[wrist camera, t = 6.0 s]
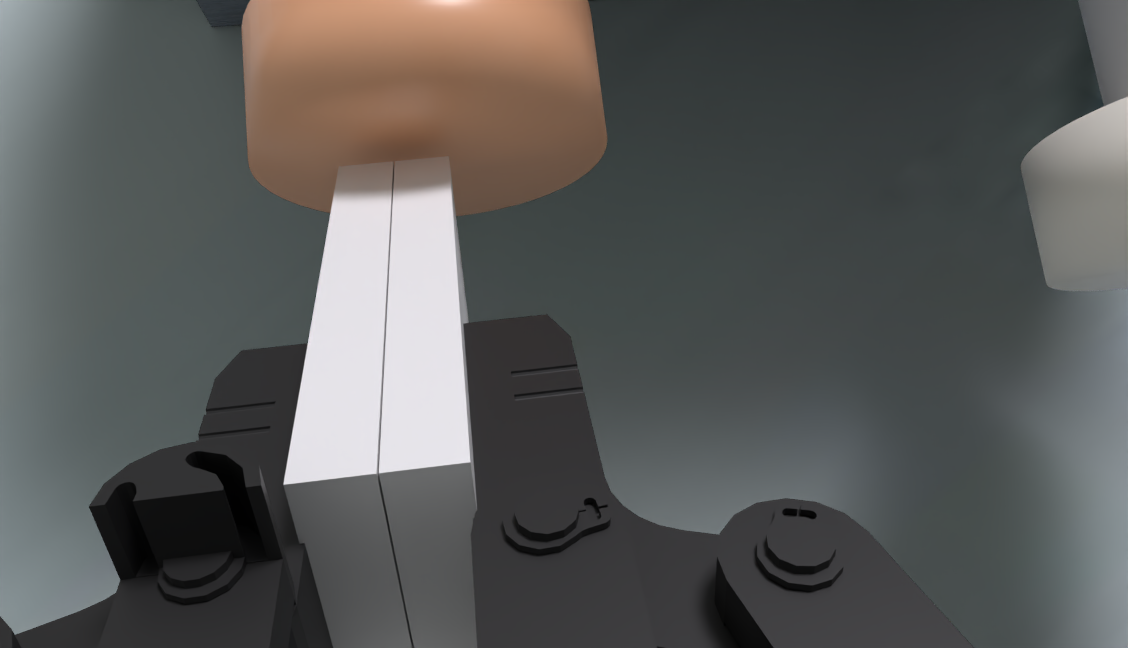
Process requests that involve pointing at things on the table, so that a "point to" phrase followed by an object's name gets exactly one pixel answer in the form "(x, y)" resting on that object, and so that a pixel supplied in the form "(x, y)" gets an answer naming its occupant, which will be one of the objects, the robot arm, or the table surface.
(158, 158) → the table surface
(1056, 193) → the knob
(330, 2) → the knob
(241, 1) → the grey puzzle box
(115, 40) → the table surface
